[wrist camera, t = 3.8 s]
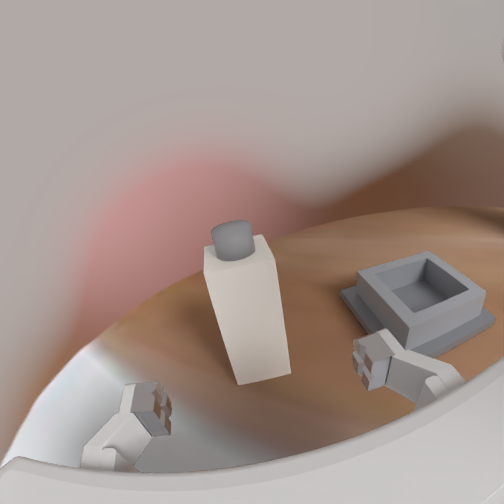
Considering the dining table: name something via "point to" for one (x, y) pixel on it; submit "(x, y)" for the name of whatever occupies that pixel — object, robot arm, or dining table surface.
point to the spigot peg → (247, 302)
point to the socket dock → (419, 303)
